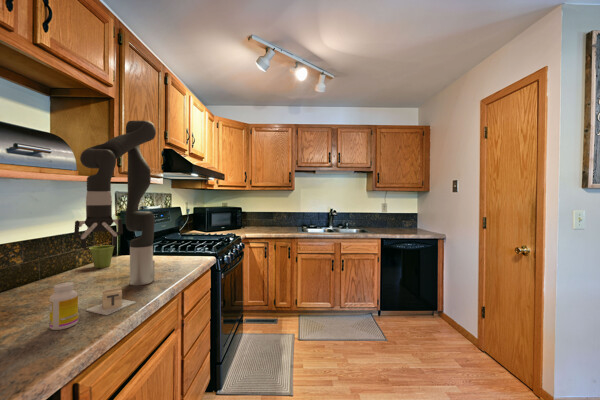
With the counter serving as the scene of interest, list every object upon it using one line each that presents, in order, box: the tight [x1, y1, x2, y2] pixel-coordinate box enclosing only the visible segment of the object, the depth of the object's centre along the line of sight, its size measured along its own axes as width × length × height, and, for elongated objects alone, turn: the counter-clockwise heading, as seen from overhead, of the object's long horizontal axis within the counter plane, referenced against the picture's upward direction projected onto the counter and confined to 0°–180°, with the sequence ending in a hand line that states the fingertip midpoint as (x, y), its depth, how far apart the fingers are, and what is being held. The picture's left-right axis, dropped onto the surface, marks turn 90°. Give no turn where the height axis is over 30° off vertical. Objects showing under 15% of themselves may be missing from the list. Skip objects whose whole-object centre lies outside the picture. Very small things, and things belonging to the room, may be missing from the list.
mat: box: [85, 298, 137, 316], centre depth 97 cm, size 11×10×1 cm
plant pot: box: [88, 244, 116, 269], centre depth 151 cm, size 12×12×11 cm
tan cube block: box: [101, 286, 123, 310], centre depth 97 cm, size 6×6×6 cm
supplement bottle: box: [48, 281, 79, 331], centre depth 83 cm, size 7×7×13 cm
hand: (99, 247), depth 98 cm, fingers open, 8 cm apart
